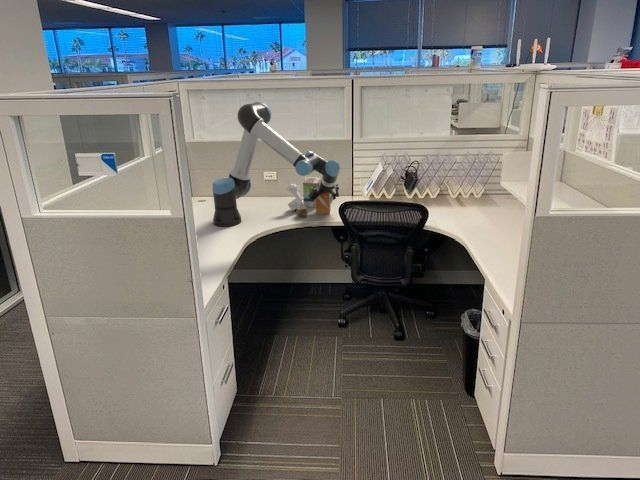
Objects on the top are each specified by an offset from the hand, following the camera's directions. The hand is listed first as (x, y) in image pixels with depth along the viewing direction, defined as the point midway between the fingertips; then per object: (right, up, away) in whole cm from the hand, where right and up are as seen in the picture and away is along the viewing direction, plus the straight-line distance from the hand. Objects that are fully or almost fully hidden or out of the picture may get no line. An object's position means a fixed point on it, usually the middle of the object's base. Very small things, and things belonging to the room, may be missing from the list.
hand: (321, 202), depth 269 cm
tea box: (-5, +1, +17) cm, 18 cm away
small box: (+1, -6, -1) cm, 6 cm away
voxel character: (-15, -4, +5) cm, 16 cm away
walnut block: (-11, -8, -7) cm, 15 cm away
